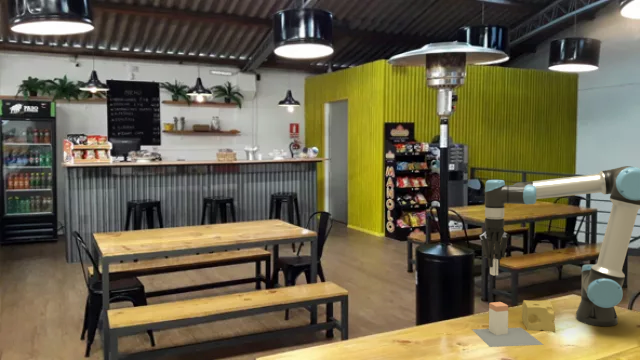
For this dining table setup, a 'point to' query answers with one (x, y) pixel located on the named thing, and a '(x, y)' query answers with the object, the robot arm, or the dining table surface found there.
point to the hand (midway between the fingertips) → (493, 274)
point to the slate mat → (507, 338)
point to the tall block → (498, 318)
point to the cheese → (538, 315)
